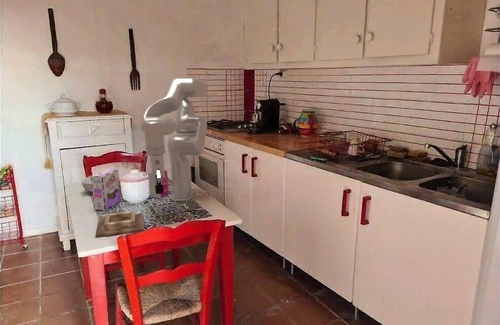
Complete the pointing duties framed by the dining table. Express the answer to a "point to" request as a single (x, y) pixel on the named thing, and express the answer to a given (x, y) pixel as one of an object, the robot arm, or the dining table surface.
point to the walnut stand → (119, 224)
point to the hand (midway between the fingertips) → (158, 189)
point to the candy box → (105, 189)
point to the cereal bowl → (87, 184)
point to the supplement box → (152, 184)
